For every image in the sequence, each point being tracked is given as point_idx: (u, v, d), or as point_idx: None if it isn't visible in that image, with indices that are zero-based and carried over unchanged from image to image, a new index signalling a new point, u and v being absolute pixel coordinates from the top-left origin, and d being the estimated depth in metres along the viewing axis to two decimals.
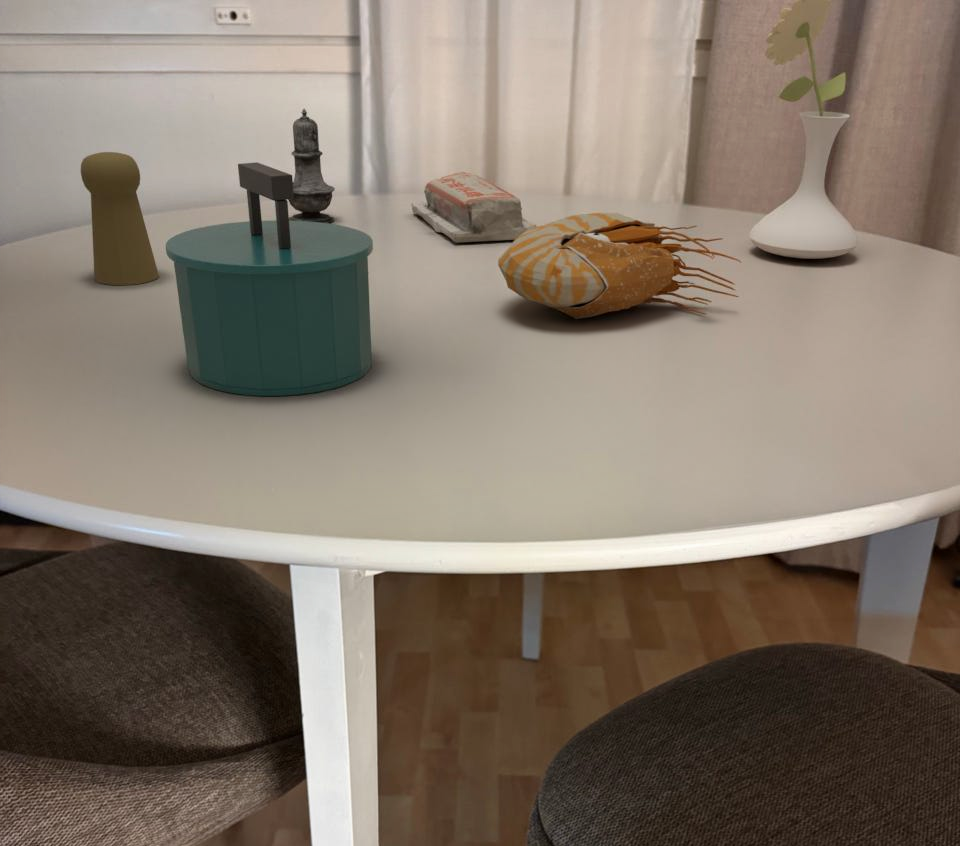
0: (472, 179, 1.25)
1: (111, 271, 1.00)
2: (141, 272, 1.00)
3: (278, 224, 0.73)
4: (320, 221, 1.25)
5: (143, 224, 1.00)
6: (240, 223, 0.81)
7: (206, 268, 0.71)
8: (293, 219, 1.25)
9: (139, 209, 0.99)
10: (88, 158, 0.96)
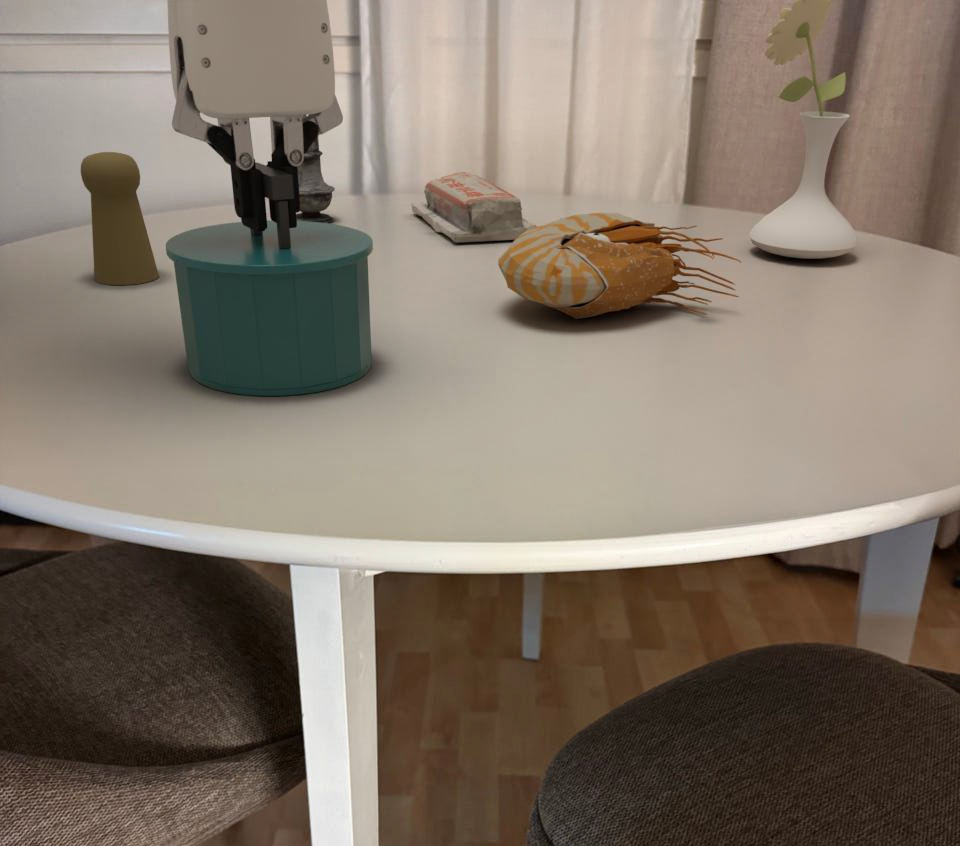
0: (472, 179, 1.25)
1: (111, 271, 1.00)
2: (141, 272, 1.00)
3: (278, 224, 0.73)
4: (320, 221, 1.25)
5: (143, 224, 1.00)
6: (240, 223, 0.81)
7: (206, 268, 0.71)
8: None
9: (139, 209, 0.99)
10: (88, 158, 0.96)
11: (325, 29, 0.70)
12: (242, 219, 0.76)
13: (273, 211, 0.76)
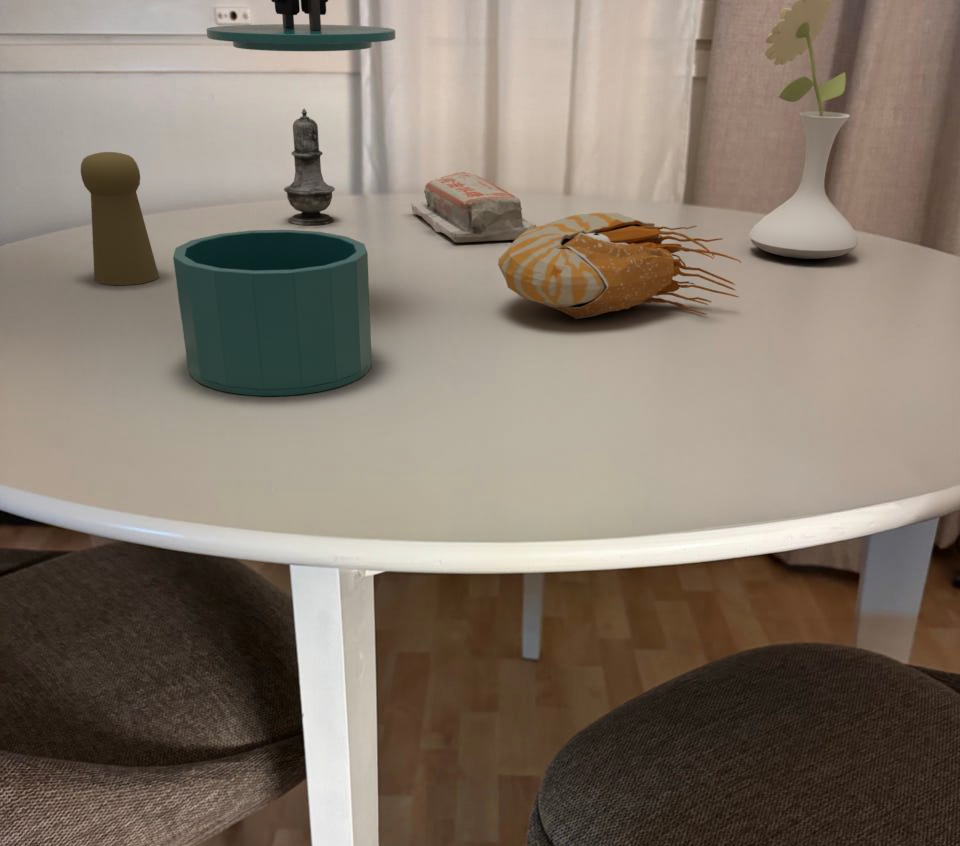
0: (472, 179, 1.25)
1: (111, 271, 1.00)
2: (141, 272, 1.00)
3: (310, 6, 0.80)
4: (320, 221, 1.25)
5: (143, 224, 1.00)
6: (272, 24, 0.88)
7: (245, 39, 0.78)
8: (293, 219, 1.25)
9: (139, 209, 0.99)
10: (88, 158, 0.96)
11: None
12: (276, 8, 0.83)
13: (304, 1, 0.83)
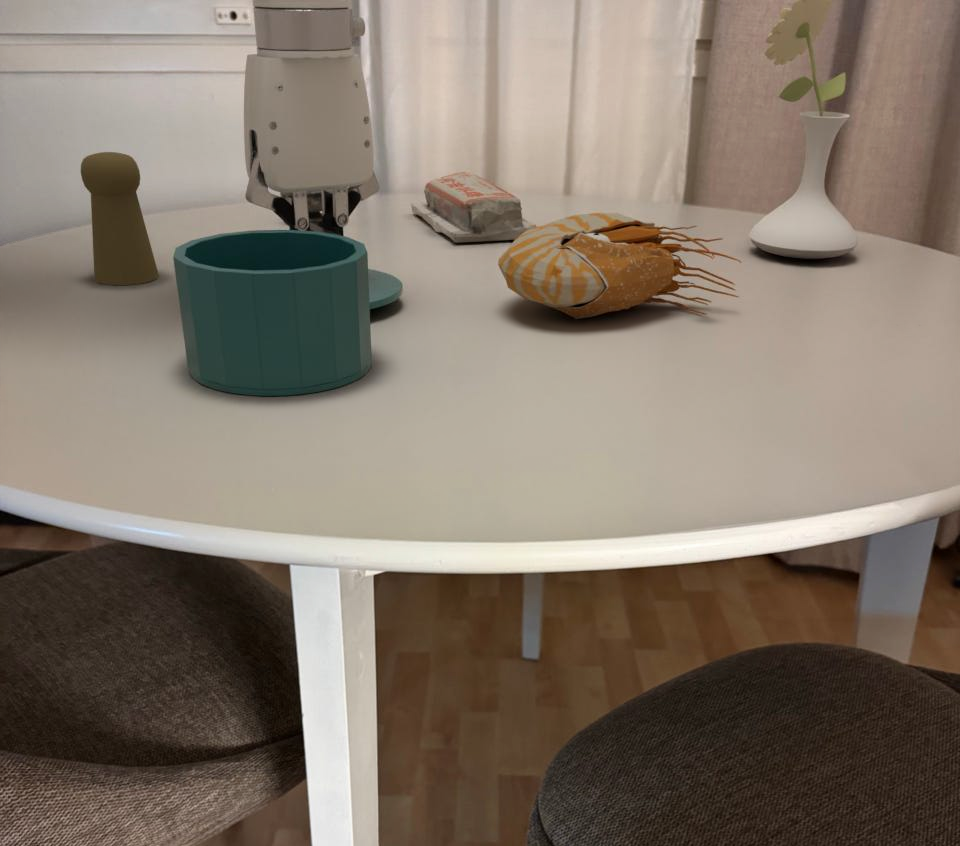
0: (472, 179, 1.25)
1: (111, 271, 1.00)
2: (141, 272, 1.00)
3: None
4: (320, 221, 1.25)
5: (143, 224, 1.00)
6: None
7: None
8: None
9: (139, 209, 0.99)
10: (88, 158, 0.96)
11: (366, 121, 0.88)
12: None
13: None
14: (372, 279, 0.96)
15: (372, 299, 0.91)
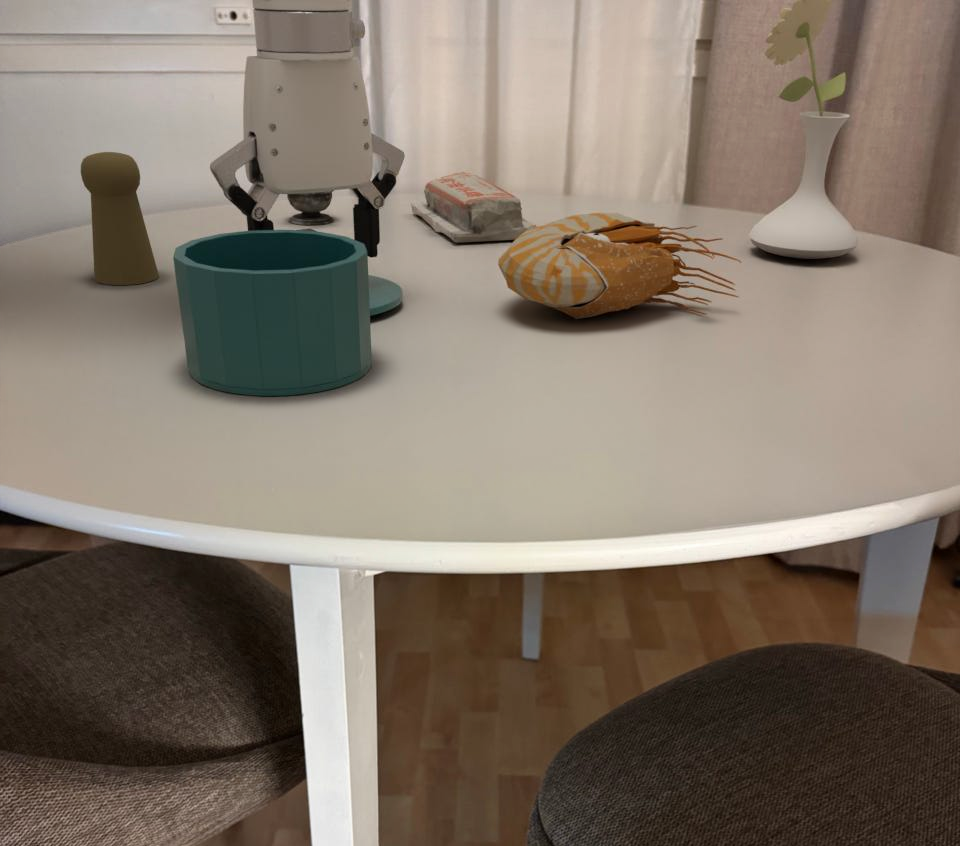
0: (472, 179, 1.25)
1: (111, 271, 1.00)
2: (141, 272, 1.00)
3: None
4: (320, 221, 1.25)
5: (143, 224, 1.00)
6: None
7: None
8: (293, 219, 1.25)
9: (139, 209, 0.99)
10: (88, 158, 0.96)
11: (366, 123, 0.88)
12: None
13: None
14: (372, 285, 0.97)
15: (372, 305, 0.91)
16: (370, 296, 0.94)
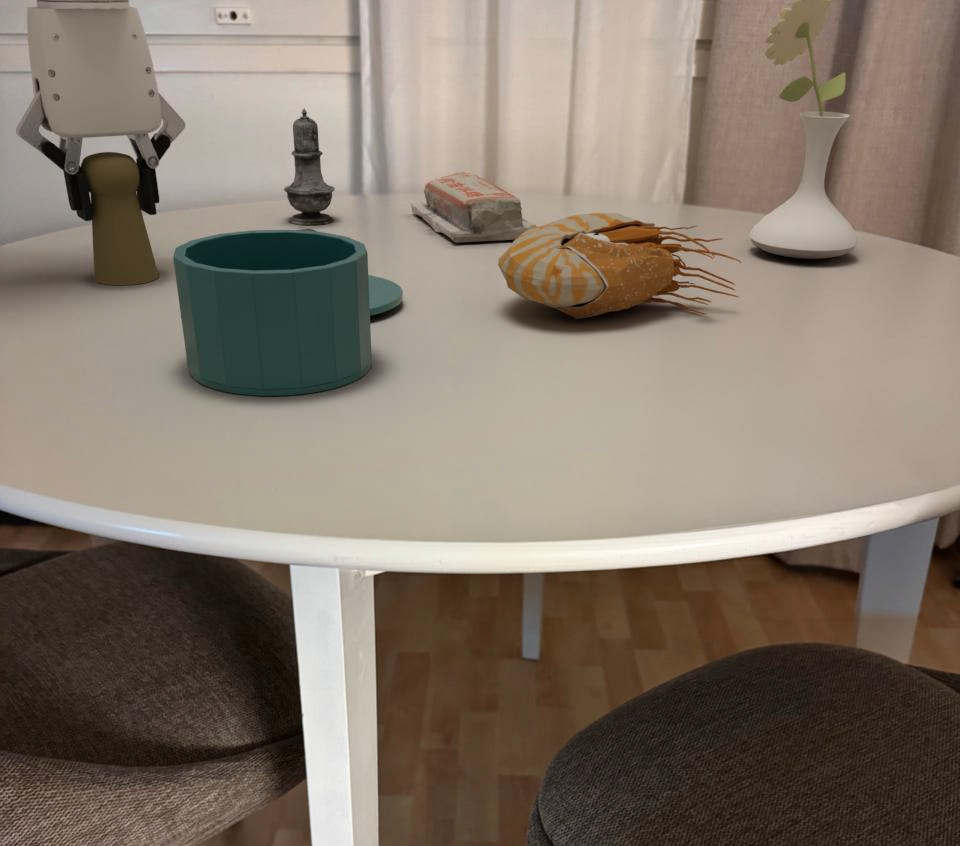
0: (472, 179, 1.25)
1: (111, 271, 1.00)
2: (141, 272, 1.00)
3: None
4: (320, 221, 1.25)
5: (143, 224, 1.00)
6: None
7: None
8: (293, 219, 1.25)
9: (139, 209, 0.99)
10: (88, 158, 0.96)
11: (149, 71, 0.94)
12: (77, 212, 0.99)
13: (140, 202, 1.01)
14: (372, 285, 0.97)
15: (372, 305, 0.91)
16: (370, 296, 0.94)
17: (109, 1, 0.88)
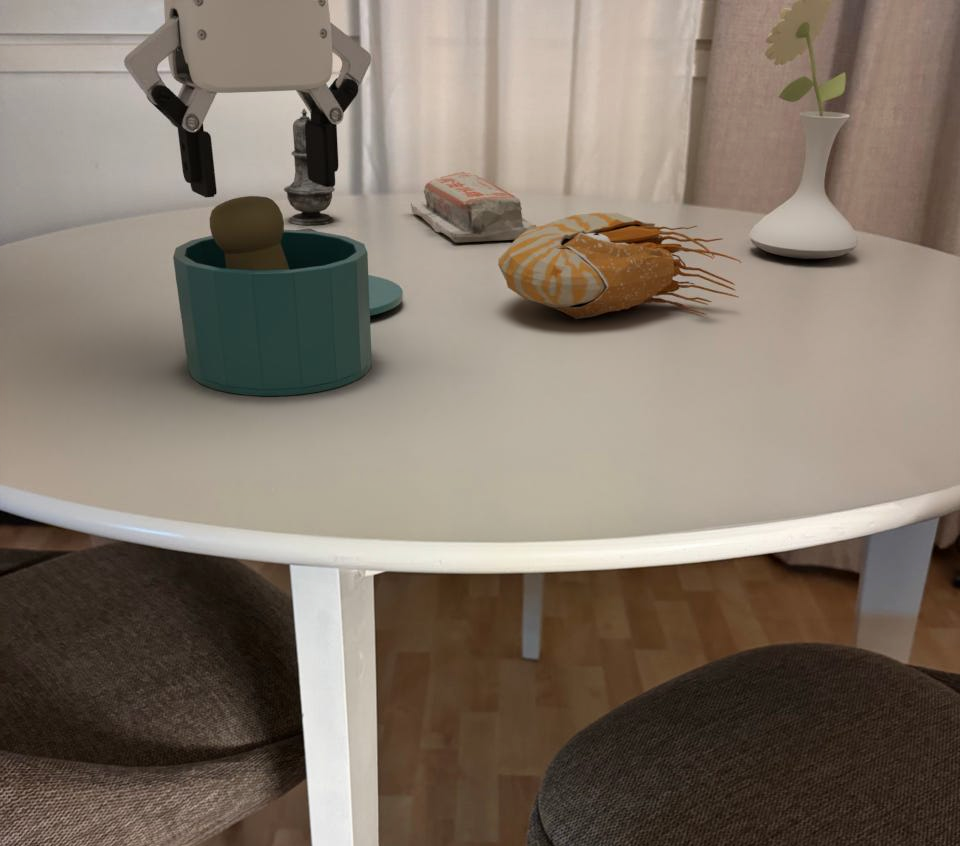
0: (472, 179, 1.25)
1: None
2: None
3: None
4: (320, 221, 1.25)
5: None
6: None
7: None
8: (293, 219, 1.25)
9: (286, 264, 0.77)
10: (219, 208, 0.74)
11: (323, 2, 0.69)
12: (191, 185, 0.73)
13: (311, 170, 0.76)
14: (372, 285, 0.97)
15: (372, 305, 0.91)
16: (370, 296, 0.94)
17: None
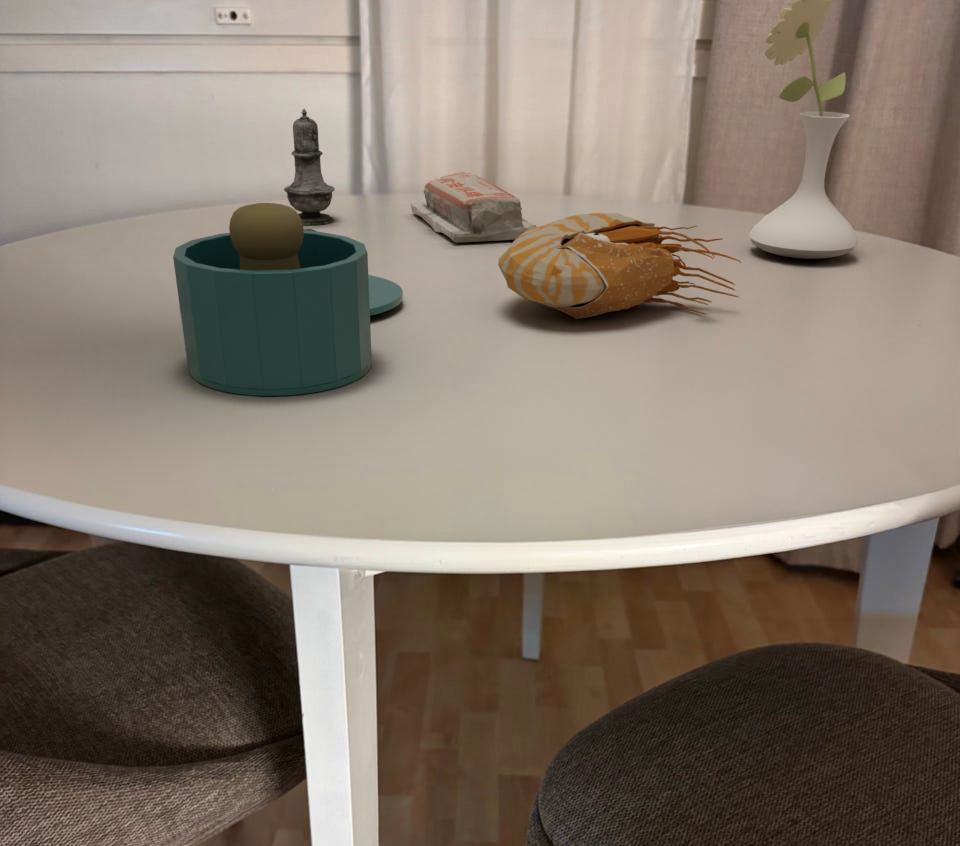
0: (472, 179, 1.25)
1: None
2: None
3: None
4: (320, 221, 1.25)
5: None
6: None
7: None
8: None
9: None
10: (242, 212, 0.74)
11: None
12: None
13: None
14: (372, 285, 0.97)
15: (372, 305, 0.91)
16: (370, 296, 0.94)
17: None
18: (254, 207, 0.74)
